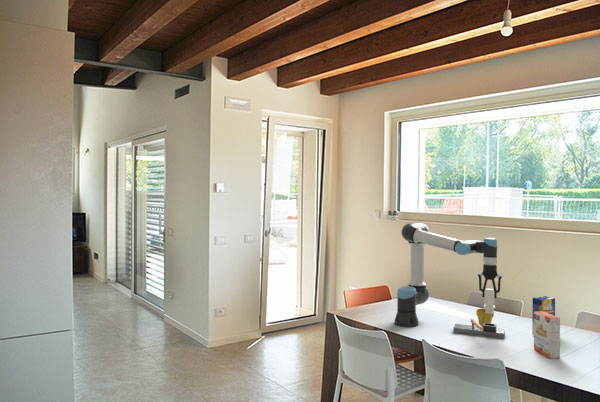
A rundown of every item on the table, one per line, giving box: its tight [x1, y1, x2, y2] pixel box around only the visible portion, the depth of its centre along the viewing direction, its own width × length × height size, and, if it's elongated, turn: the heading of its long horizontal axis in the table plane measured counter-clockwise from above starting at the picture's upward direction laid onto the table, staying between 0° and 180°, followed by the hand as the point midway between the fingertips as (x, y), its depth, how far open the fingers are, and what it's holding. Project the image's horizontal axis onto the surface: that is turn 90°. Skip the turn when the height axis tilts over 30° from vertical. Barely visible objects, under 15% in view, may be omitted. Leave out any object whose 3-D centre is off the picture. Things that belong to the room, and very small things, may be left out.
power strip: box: [453, 322, 506, 340], centre depth 281 cm, size 28×10×6 cm, turn 64°
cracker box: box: [533, 311, 561, 359], centre depth 244 cm, size 14×6×21 cm, turn 5°
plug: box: [483, 287, 496, 314], centre depth 277 cm, size 6×8×14 cm
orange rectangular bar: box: [470, 318, 483, 330], centre depth 271 cm, size 18×3×6 cm, turn 176°
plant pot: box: [476, 308, 495, 327], centre depth 298 cm, size 10×10×10 cm
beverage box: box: [531, 295, 556, 336], centre depth 279 cm, size 7×11×22 cm, turn 116°
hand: (489, 303), depth 279 cm, fingers closed on plug, 4 cm apart
